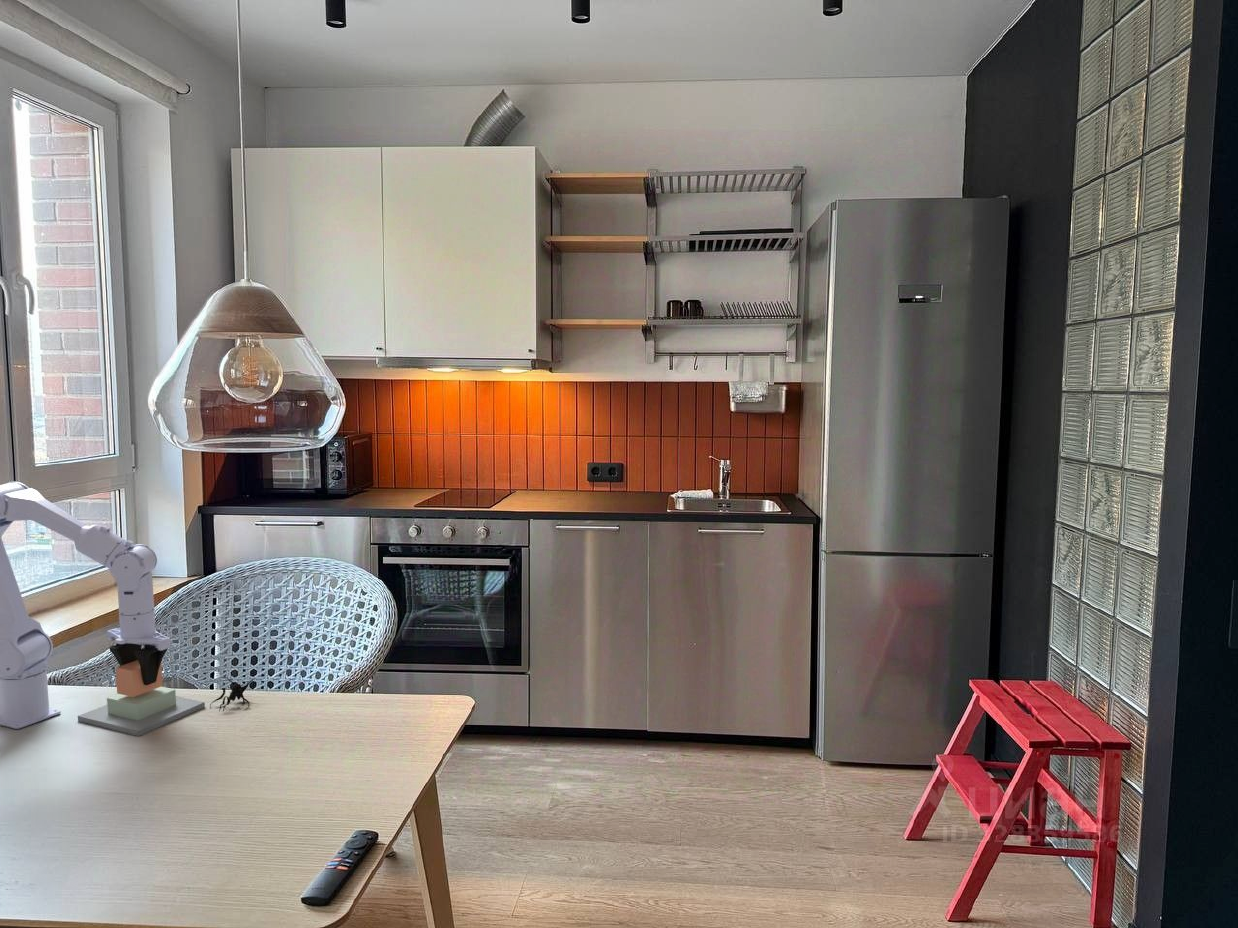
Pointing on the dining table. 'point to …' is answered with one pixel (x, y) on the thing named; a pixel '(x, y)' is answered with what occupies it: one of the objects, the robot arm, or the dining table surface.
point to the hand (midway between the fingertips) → (140, 681)
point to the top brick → (134, 680)
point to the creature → (234, 694)
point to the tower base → (143, 723)
